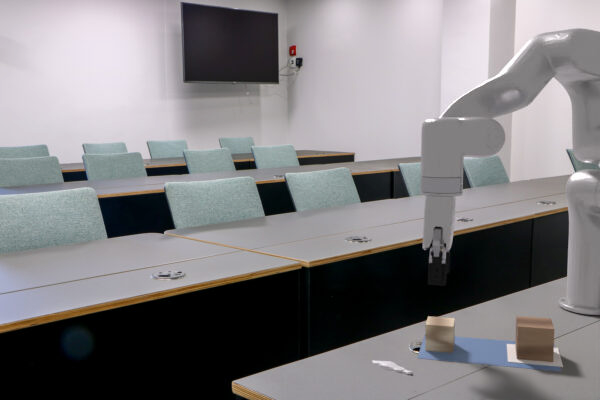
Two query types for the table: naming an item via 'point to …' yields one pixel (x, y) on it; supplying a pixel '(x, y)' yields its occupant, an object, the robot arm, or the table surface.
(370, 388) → the table surface
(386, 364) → the stylus pen
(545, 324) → the walnut cube
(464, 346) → the board
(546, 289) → the table surface
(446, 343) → the maple cube
